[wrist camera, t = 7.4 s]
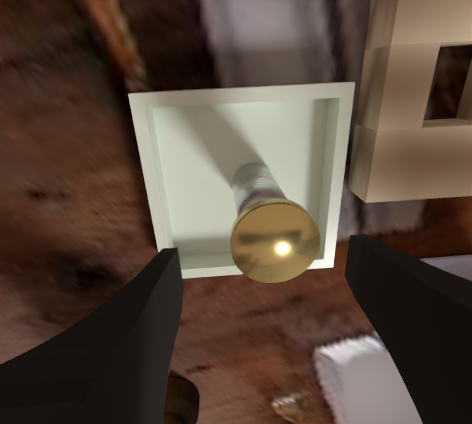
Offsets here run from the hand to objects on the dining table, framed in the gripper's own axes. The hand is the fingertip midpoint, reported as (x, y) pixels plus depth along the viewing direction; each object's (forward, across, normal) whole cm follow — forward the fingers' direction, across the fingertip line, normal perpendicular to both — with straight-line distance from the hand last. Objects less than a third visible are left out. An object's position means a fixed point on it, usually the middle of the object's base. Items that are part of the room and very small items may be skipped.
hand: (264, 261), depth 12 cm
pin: (+10, -1, 0) cm, 10 cm away
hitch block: (+10, -13, -6) cm, 18 cm away
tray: (+10, 0, 0) cm, 10 cm away
